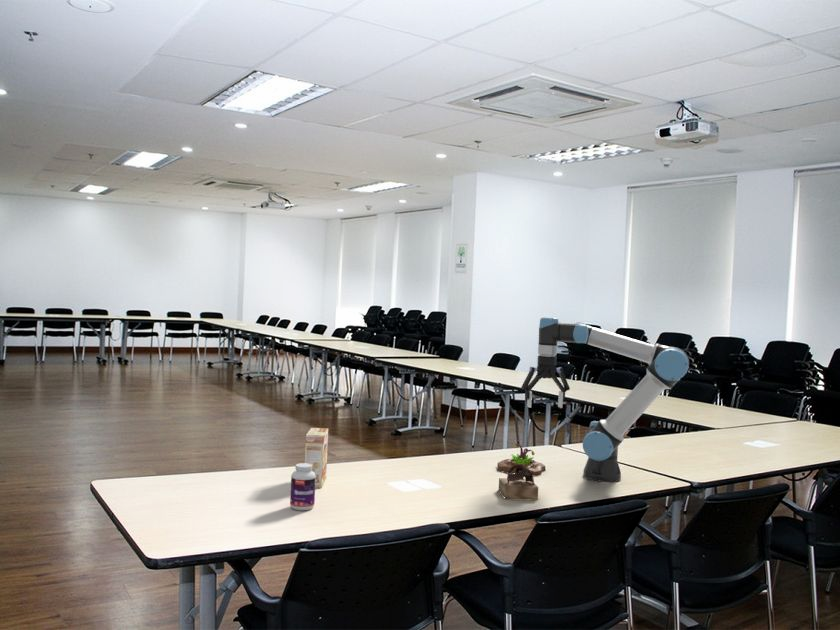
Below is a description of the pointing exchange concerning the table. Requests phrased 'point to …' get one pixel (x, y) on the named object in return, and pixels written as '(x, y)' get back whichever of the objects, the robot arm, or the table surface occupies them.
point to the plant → (522, 462)
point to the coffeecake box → (317, 453)
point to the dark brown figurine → (520, 473)
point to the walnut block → (518, 489)
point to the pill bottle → (303, 487)
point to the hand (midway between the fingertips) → (544, 407)
